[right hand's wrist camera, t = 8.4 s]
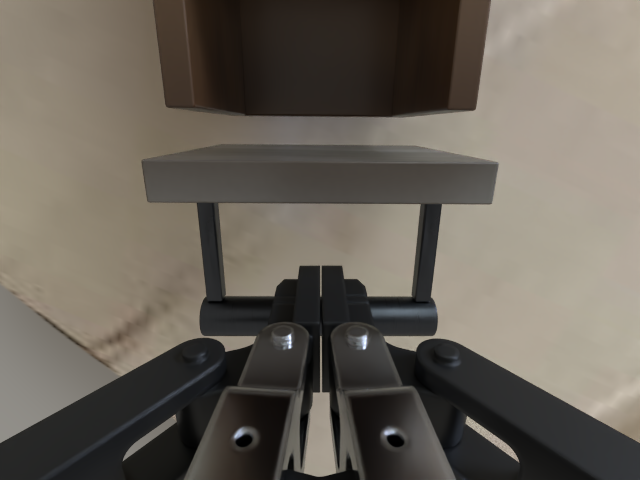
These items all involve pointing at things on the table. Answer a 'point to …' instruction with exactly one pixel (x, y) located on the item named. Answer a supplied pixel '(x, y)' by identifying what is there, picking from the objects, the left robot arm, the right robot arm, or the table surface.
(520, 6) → the table surface
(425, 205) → the drawer
